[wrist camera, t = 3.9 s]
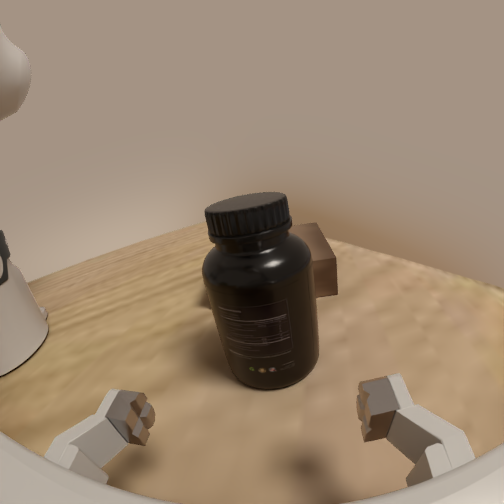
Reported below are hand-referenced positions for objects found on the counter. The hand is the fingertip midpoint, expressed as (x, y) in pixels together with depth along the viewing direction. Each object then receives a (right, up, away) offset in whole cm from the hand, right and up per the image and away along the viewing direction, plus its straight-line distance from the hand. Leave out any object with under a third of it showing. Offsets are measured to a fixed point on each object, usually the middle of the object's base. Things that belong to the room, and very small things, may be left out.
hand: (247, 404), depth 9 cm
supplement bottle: (+2, -3, +11) cm, 12 cm away
